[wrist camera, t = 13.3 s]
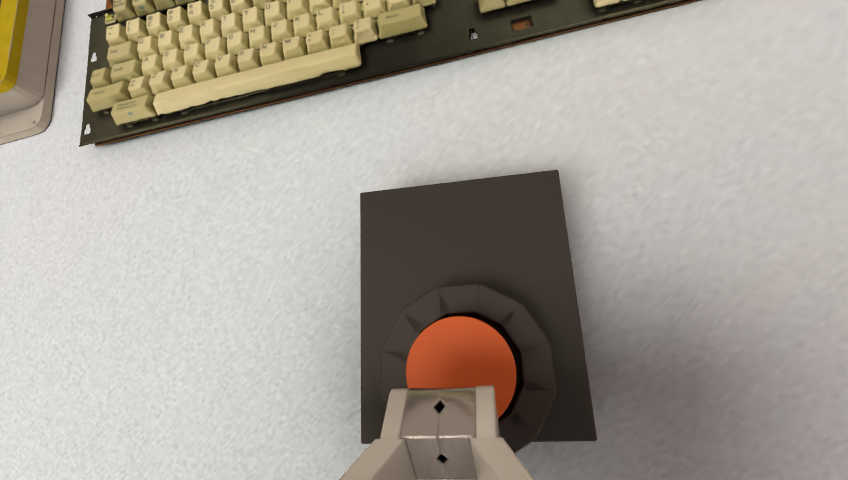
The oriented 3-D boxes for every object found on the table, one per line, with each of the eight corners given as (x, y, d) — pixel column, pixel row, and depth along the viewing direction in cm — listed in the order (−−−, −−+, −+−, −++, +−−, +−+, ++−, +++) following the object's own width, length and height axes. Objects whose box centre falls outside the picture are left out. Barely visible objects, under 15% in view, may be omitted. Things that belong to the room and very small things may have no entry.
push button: (520, 422, 16) (522, 431, 14) (418, 424, 17) (407, 433, 15) (510, 317, 17) (510, 312, 15) (414, 322, 18) (403, 319, 16)
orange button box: (582, 435, 20) (611, 466, 15) (385, 437, 22) (344, 466, 16) (550, 198, 24) (563, 149, 18) (381, 216, 26) (345, 177, 20)
